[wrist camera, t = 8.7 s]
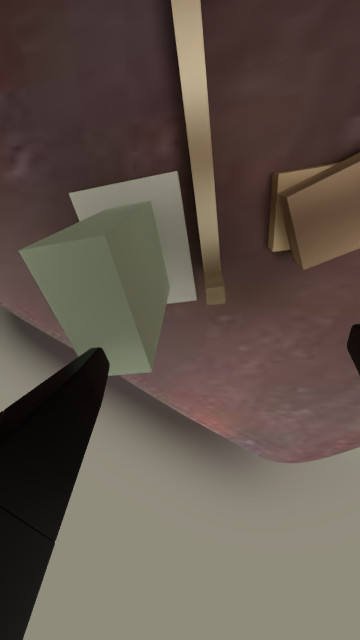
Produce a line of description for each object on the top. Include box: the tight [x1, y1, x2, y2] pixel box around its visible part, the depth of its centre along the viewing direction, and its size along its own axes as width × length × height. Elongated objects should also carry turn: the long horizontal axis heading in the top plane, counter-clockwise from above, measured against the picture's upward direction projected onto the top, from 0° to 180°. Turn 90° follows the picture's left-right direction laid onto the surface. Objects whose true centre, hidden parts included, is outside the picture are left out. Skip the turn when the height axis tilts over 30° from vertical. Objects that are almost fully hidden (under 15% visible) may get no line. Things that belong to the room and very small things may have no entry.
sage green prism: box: [19, 201, 170, 376], centre depth 14 cm, size 7×4×10 cm, turn 10°
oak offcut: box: [268, 162, 340, 252], centre depth 16 cm, size 5×7×2 cm
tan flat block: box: [277, 152, 360, 270], centre depth 15 cm, size 5×6×2 cm
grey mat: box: [69, 171, 197, 304], centre depth 19 cm, size 10×8×1 cm
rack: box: [171, 0, 226, 305], centre depth 12 cm, size 16×17×6 cm
